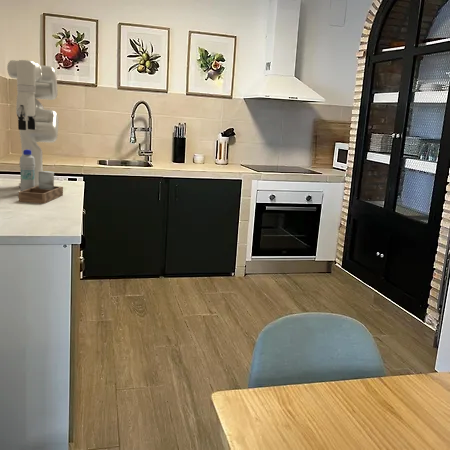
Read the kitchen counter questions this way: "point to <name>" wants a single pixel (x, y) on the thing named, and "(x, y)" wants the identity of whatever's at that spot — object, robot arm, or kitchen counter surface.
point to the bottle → (27, 170)
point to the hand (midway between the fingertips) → (26, 129)
